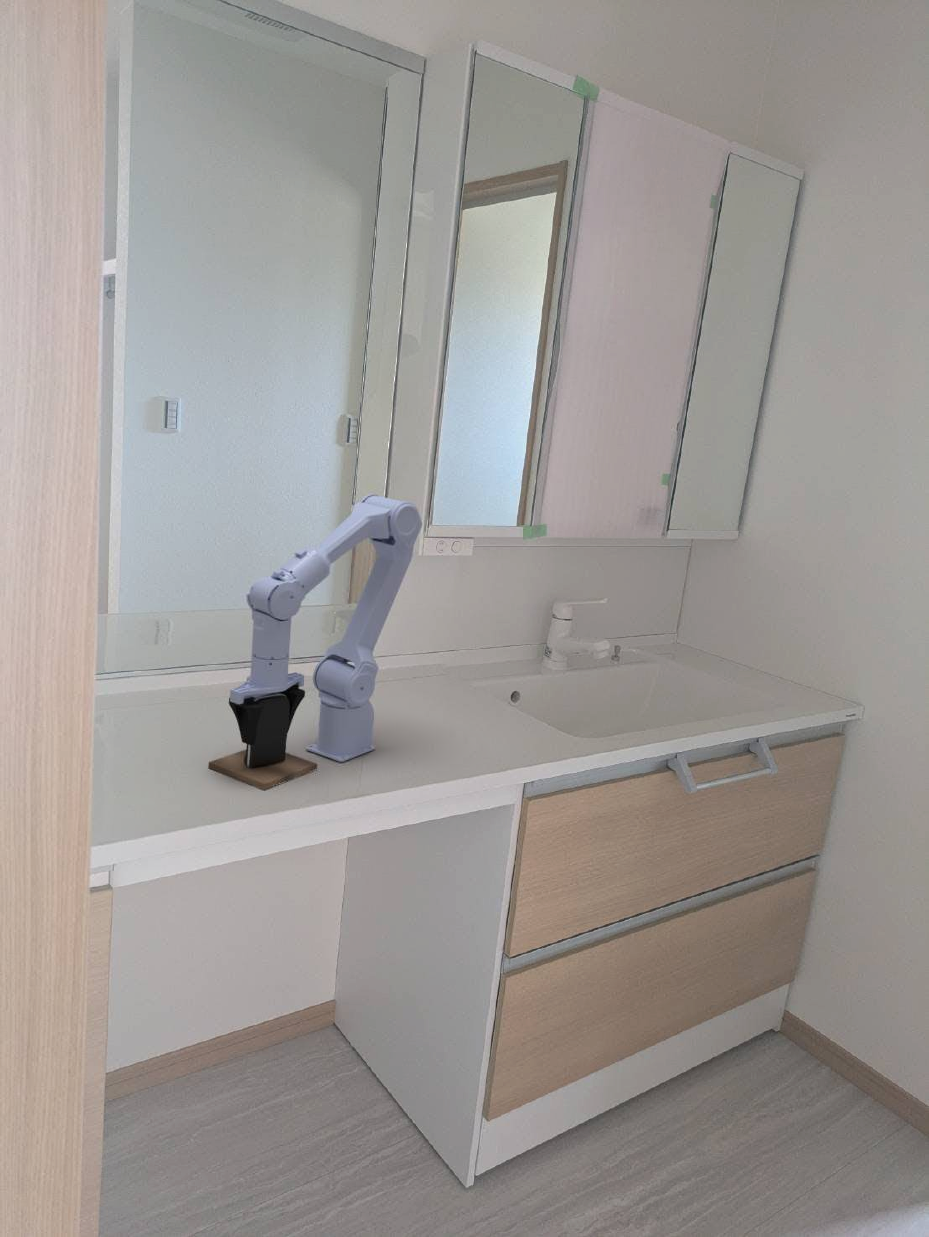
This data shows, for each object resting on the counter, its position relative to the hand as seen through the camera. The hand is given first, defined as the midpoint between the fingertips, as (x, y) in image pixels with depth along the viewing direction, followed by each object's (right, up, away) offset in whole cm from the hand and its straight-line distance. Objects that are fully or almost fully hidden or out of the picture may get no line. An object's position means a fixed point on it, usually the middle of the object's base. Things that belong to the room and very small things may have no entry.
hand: (265, 737), depth 157 cm
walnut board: (-1, -5, +1) cm, 5 cm away
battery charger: (-1, -4, +1) cm, 5 cm away
